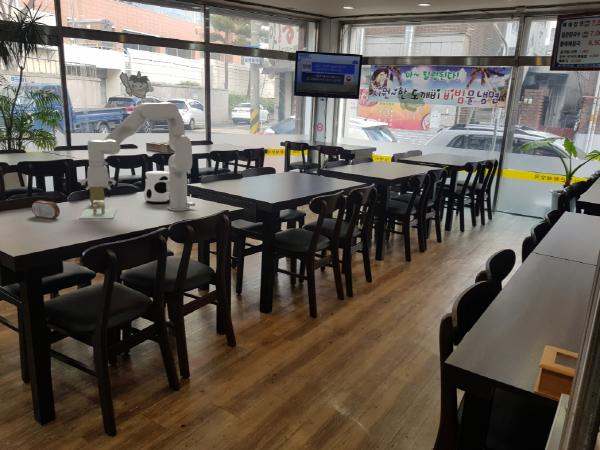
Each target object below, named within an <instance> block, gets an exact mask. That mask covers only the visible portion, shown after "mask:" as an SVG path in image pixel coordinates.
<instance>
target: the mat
mask: <svg viewBox="0 0 600 450" xmlns="http://www.w3.org/2000/svg"><path fill="white" fill-rule="evenodd" d="M117 211H118V208H105V213H104V214H102V212H101V208H97V213H96V214H93V208H86V209H84V211H83V212H82V213H81V215H80V216H79V218H78V219H79V220H113V219H114V218H115V216H116V214H115V213H117ZM114 215H115V216H114ZM113 217H114V218H113Z"/></svg>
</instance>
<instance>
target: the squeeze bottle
mask: <svg viewBox="0 0 600 450" xmlns="http://www.w3.org/2000/svg"><path fill="white" fill-rule="evenodd" d="M89 189H90V194H91V197H90V198H89V201H90V203H91V205H92V206H93V201H94V200H104V201H105V200H106V198H105V192H104V186H91V187H90V188H89Z"/></svg>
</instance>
